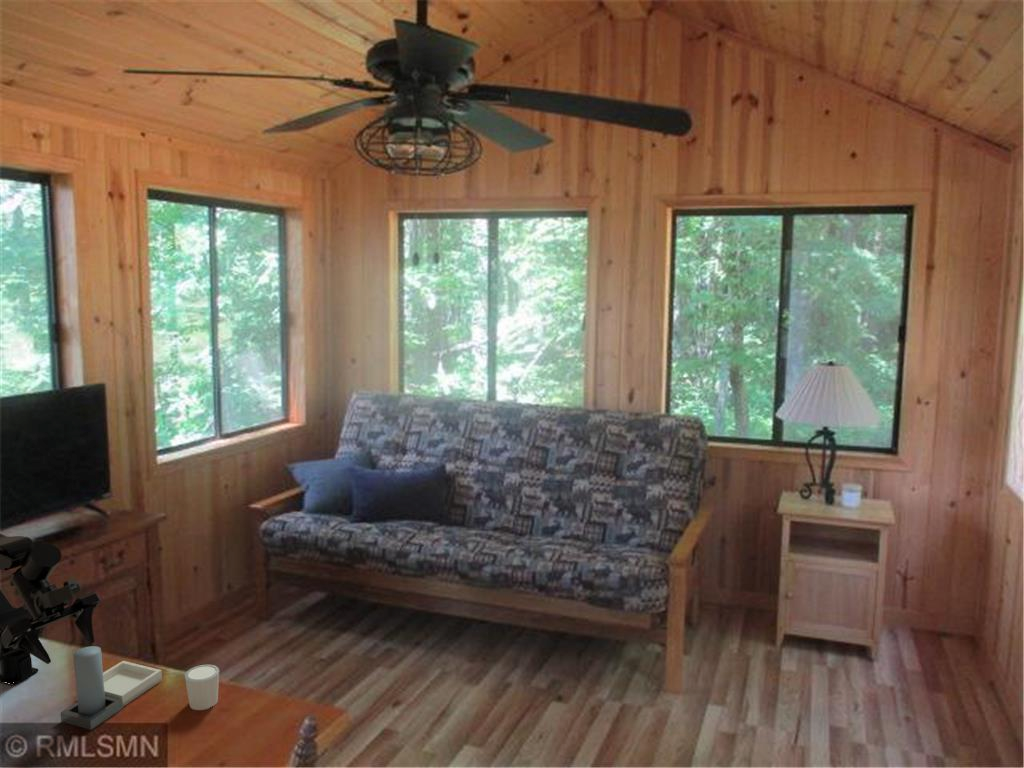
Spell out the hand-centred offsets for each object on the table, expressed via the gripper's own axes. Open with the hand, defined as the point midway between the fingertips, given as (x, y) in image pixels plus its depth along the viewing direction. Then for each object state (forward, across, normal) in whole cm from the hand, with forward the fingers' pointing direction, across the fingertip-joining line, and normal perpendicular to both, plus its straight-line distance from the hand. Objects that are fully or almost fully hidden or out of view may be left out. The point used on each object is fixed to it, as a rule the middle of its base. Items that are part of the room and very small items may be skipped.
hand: (71, 653), depth 165 cm
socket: (+13, 0, +5) cm, 13 cm away
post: (+13, 0, +5) cm, 13 cm away
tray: (+10, +10, +7) cm, 16 cm away
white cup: (+24, +15, -6) cm, 29 cm away
